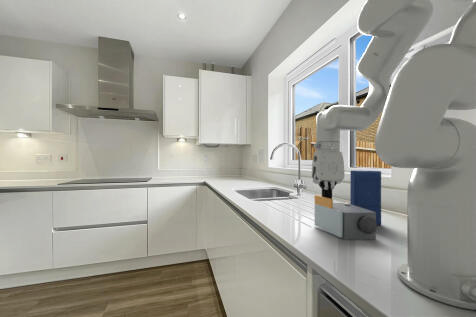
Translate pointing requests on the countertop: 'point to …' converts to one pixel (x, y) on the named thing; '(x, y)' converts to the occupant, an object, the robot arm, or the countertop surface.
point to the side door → (328, 216)
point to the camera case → (357, 222)
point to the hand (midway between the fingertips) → (326, 200)
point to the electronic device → (366, 191)
